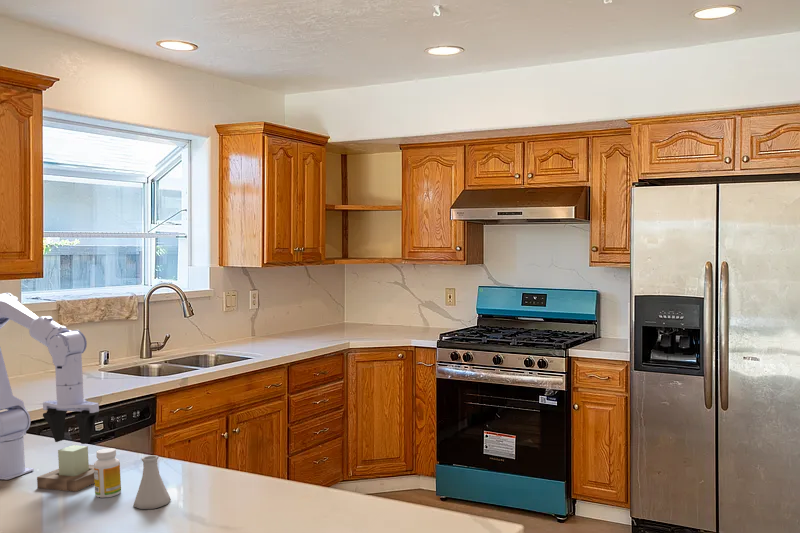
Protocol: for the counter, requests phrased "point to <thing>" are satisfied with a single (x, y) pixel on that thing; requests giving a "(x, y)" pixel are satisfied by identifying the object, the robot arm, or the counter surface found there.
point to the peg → (73, 460)
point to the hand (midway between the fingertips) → (72, 441)
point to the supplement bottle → (107, 473)
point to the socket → (66, 480)
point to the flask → (151, 486)
